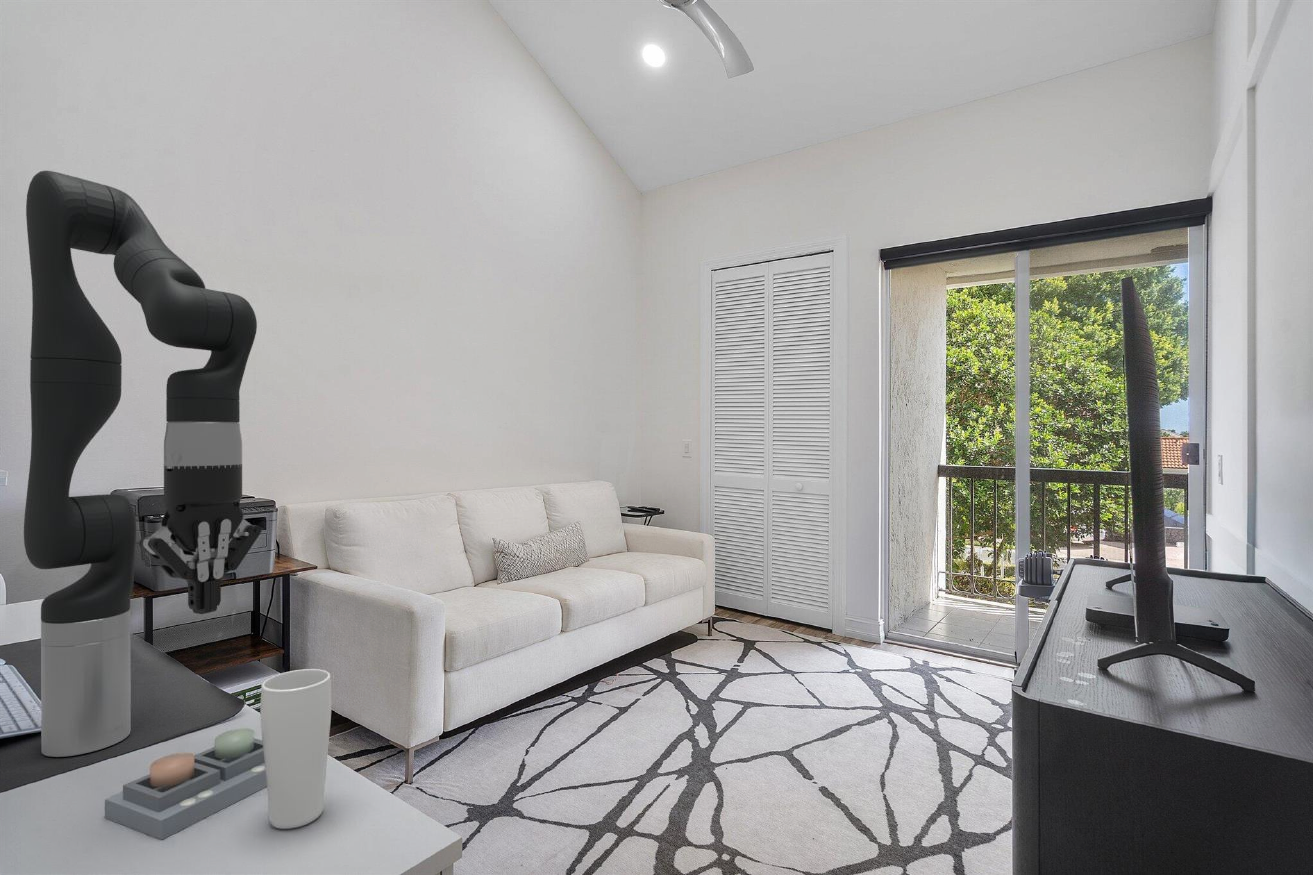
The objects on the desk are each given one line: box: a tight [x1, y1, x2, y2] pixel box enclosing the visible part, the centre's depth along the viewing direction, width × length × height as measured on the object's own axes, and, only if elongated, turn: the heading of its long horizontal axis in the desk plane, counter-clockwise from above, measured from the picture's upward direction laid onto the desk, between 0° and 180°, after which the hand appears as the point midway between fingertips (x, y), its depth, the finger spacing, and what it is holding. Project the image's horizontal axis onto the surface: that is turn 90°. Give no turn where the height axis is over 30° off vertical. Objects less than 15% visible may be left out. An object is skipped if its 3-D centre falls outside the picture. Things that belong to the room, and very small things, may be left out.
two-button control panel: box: [104, 737, 267, 841], centre depth 78 cm, size 10×15×4 cm, turn 156°
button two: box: [149, 752, 194, 787], centre depth 75 cm, size 4×4×2 cm
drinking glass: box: [260, 668, 332, 830], centre depth 73 cm, size 7×7×15 cm
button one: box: [214, 728, 255, 759], centre depth 81 cm, size 4×4×2 cm
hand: (204, 612), depth 78 cm, fingers closed
